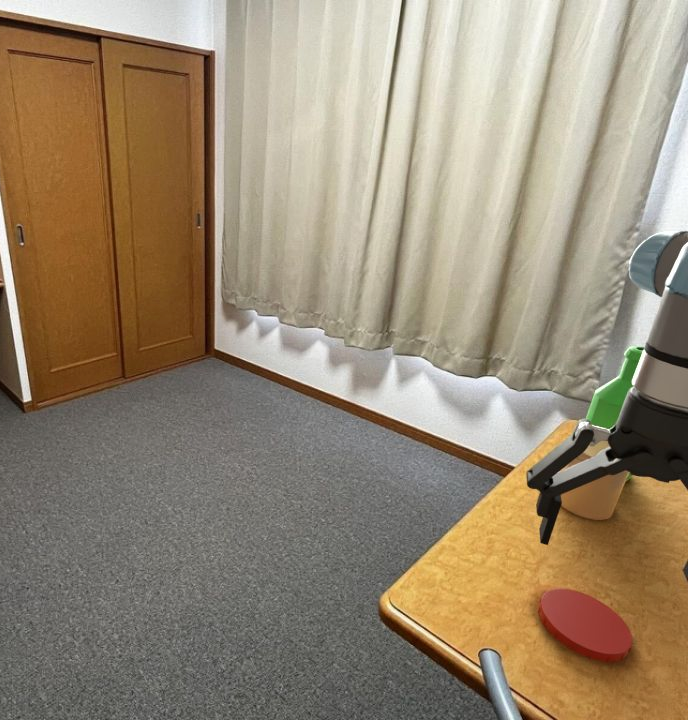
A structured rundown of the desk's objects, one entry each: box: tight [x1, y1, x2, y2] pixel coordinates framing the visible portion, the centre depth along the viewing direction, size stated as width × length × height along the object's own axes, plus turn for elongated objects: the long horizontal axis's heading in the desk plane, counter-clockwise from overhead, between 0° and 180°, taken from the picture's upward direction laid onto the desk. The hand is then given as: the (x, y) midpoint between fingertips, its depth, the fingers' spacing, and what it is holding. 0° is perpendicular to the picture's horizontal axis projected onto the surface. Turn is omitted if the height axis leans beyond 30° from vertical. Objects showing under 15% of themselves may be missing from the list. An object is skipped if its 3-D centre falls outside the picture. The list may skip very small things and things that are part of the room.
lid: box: [537, 587, 633, 663], centre depth 60 cm, size 9×9×2 cm
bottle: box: [585, 345, 645, 482], centre depth 85 cm, size 9×9×25 cm
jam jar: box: [561, 441, 629, 521], centre depth 79 cm, size 8×8×12 cm
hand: (612, 557), depth 56 cm, fingers open, 13 cm apart
